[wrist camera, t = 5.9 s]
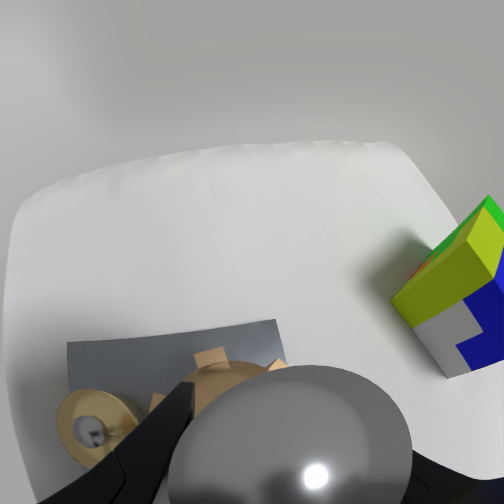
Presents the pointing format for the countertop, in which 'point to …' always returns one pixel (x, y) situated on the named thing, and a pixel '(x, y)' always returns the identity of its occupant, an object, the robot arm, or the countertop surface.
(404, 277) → the countertop surface
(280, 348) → the carrier plate
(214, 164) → the countertop surface
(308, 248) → the countertop surface
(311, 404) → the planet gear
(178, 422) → the robot arm
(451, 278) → the puzzle toy
